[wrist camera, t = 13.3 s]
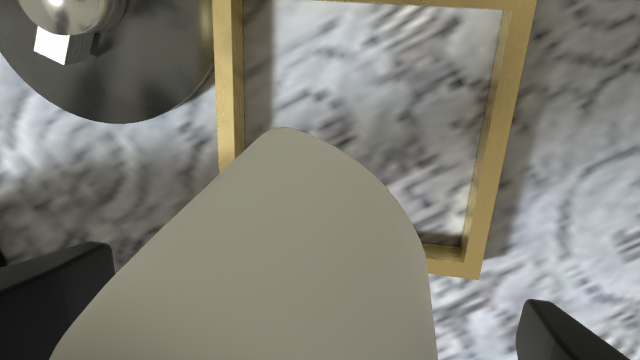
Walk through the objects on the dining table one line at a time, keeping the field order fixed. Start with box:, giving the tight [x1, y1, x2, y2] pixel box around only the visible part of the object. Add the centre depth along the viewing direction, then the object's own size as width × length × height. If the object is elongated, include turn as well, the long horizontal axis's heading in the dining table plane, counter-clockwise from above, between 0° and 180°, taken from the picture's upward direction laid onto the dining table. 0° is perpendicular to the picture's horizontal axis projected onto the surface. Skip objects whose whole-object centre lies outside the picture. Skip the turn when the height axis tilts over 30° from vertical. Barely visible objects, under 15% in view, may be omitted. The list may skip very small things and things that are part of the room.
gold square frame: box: [212, 0, 537, 280], centre depth 20 cm, size 13×13×2 cm
